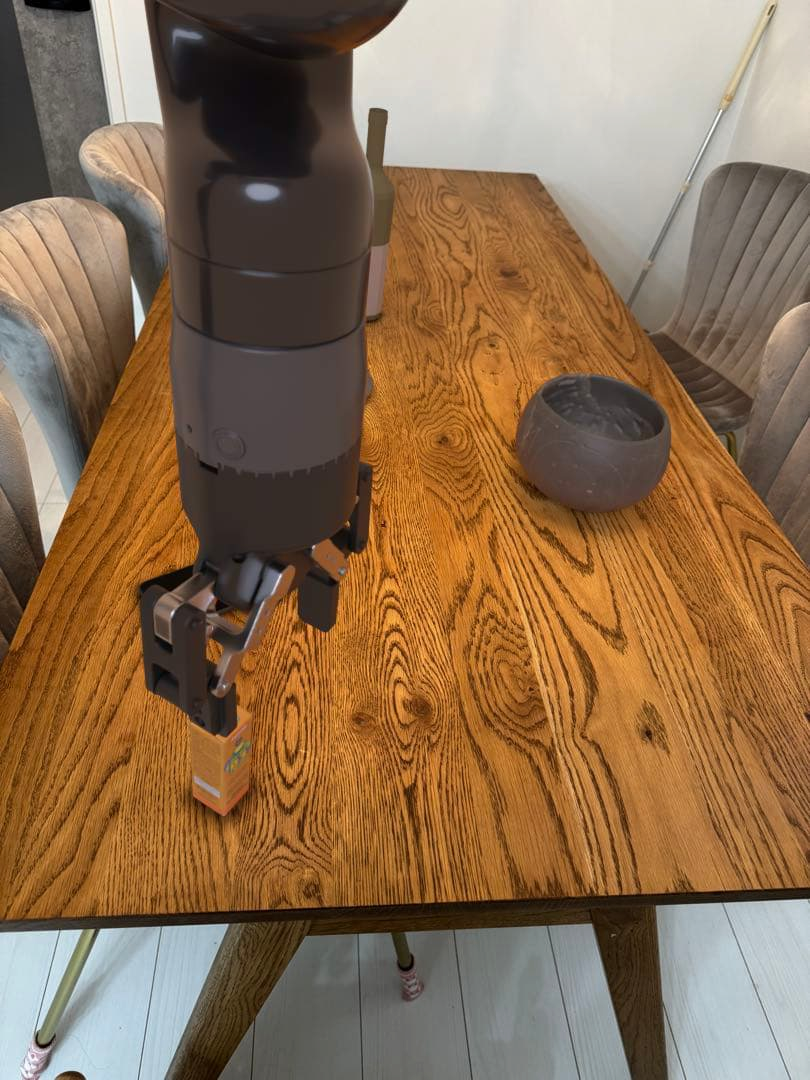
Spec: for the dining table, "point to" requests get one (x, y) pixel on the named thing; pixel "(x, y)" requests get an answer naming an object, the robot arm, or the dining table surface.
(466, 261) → the dining table surface
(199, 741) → the supplement box
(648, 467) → the bowl
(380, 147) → the bottle
